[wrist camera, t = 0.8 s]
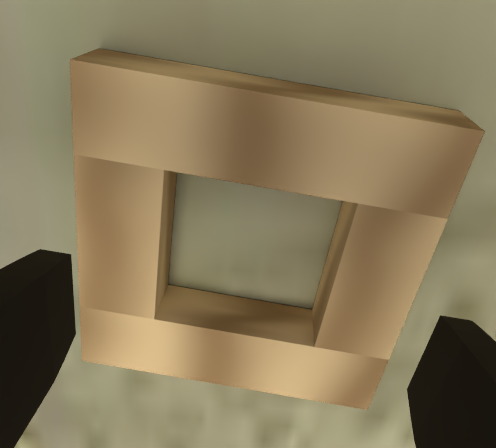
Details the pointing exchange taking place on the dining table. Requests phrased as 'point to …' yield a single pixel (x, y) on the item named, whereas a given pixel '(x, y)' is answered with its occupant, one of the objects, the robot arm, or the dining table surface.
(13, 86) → the dining table surface
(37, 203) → the dining table surface
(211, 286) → the dining table surface
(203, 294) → the square wooden frame
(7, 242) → the dining table surface
